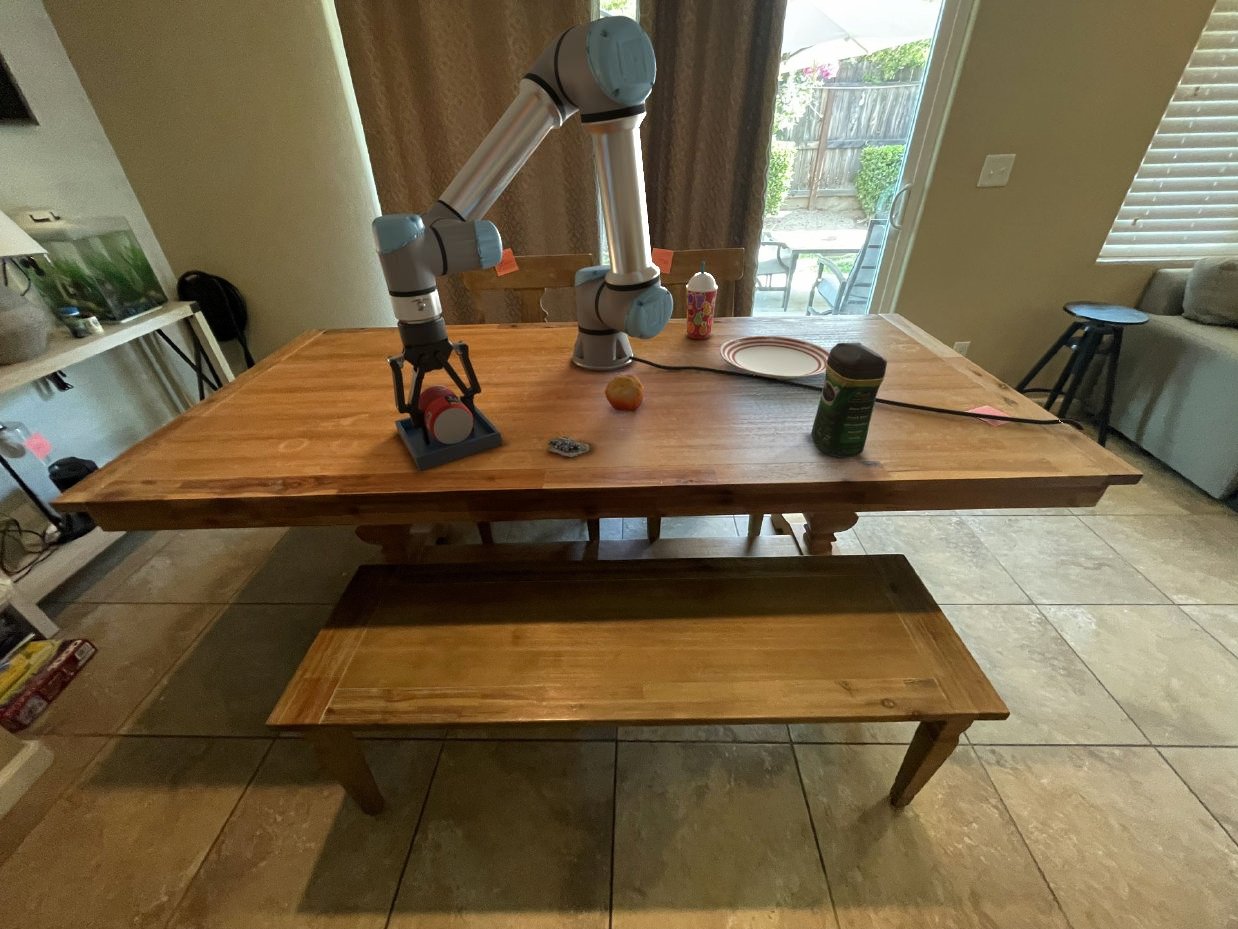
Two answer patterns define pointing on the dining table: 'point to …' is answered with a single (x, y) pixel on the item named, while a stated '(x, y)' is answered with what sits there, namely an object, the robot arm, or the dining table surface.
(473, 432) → the tray
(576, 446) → the grey mineral rock
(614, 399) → the fruit
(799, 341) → the dinner plate
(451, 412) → the canned food
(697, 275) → the smoothie
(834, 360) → the coffee jar
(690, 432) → the dining table surface
